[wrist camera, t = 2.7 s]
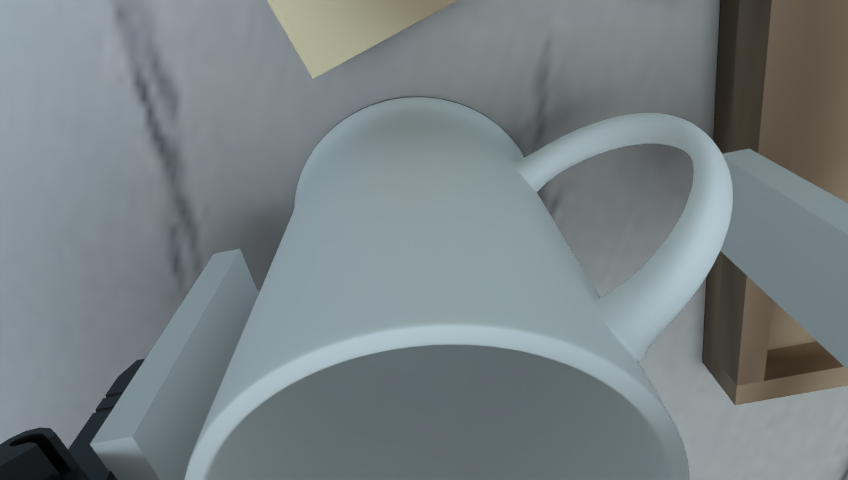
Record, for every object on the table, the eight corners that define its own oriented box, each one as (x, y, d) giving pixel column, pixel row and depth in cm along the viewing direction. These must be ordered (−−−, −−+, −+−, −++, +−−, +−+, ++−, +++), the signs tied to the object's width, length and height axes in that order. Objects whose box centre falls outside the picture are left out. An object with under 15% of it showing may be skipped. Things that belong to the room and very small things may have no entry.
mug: (538, -30, 16) (831, -12, 5) (658, 188, 19) (984, 472, 8) (244, 193, 19) (36, 505, 8) (393, 349, 22) (389, 714, 11)
